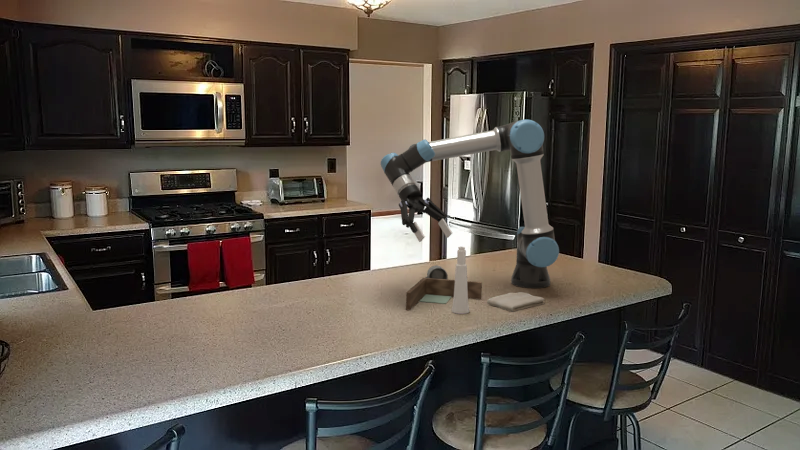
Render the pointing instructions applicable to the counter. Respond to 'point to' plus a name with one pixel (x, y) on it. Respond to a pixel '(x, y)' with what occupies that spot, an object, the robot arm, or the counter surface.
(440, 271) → the ceramic mug
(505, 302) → the washcloth
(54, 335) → the counter surface
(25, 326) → the counter surface
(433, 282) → the walnut corner walls
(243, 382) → the counter surface
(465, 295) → the cosmetic bottle
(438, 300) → the mat
